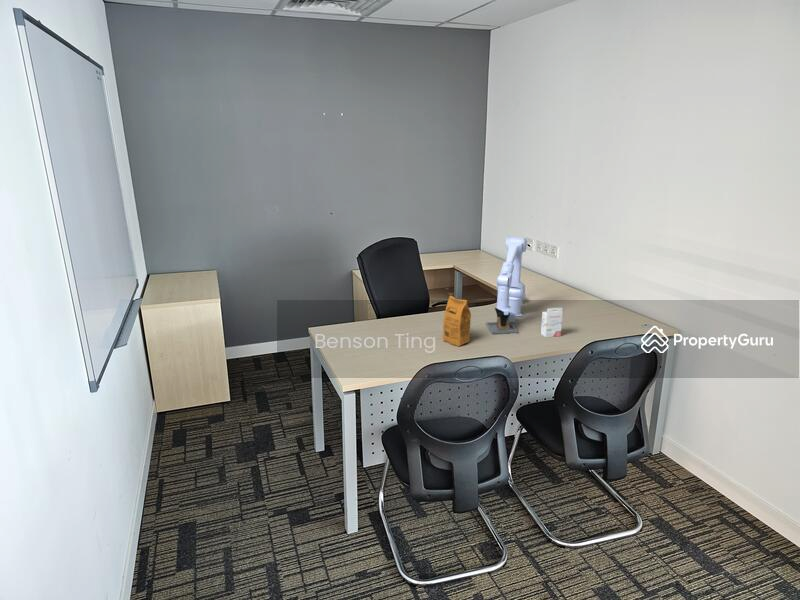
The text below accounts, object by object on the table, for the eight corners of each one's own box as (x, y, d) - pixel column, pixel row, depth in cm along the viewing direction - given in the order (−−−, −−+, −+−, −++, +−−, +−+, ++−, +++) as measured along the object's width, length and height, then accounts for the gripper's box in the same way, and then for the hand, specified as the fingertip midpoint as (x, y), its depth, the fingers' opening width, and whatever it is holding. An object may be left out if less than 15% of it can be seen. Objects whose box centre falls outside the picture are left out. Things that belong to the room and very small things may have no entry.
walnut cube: (496, 326, 268) (497, 317, 267) (506, 326, 269) (506, 316, 267) (499, 329, 263) (499, 320, 262) (508, 329, 264) (509, 320, 262)
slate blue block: (502, 320, 278) (503, 312, 277) (509, 319, 280) (510, 311, 279) (507, 323, 274) (508, 315, 273) (514, 322, 276) (515, 314, 275)
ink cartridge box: (556, 332, 262) (558, 304, 257) (561, 336, 257) (563, 307, 253) (540, 333, 260) (542, 305, 256) (544, 337, 255) (547, 308, 251)
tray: (485, 325, 272) (485, 322, 271) (510, 324, 273) (510, 321, 272) (491, 334, 259) (492, 331, 259) (517, 333, 261) (517, 330, 260)
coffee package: (454, 335, 258) (455, 292, 252) (472, 342, 249) (474, 298, 242) (439, 340, 252) (440, 296, 246) (457, 348, 243) (459, 302, 236)
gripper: (515, 302, 255) (513, 328, 259) (507, 293, 268) (505, 318, 272) (500, 302, 254) (499, 329, 258) (493, 294, 268) (492, 319, 272)
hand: (501, 323), depth 265 cm, fingers closed on walnut cube, 5 cm apart
